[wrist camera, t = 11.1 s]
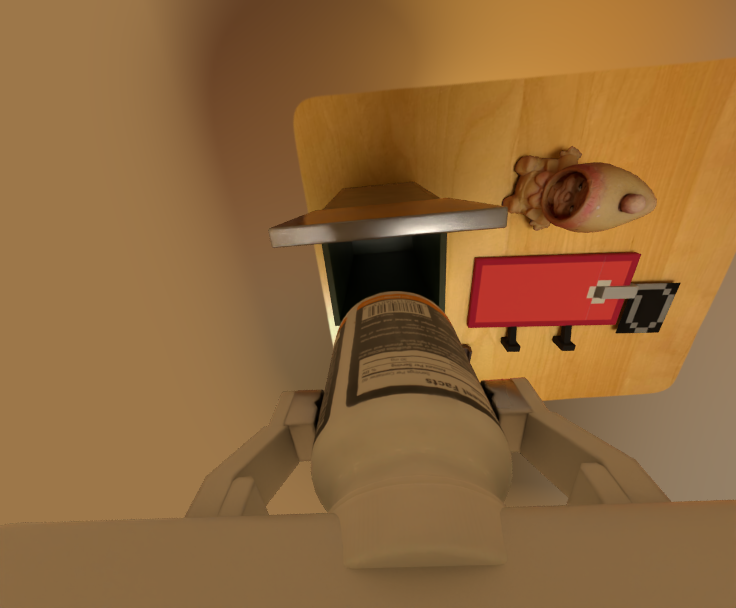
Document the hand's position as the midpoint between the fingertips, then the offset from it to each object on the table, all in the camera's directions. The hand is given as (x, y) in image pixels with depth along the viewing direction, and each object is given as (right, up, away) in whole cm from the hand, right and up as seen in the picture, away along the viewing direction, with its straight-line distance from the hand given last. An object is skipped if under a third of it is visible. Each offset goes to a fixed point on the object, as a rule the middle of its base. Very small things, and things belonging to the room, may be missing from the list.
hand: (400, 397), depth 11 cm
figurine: (+22, +19, +28) cm, 40 cm away
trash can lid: (0, +8, +5) cm, 10 cm away
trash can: (+1, +15, +30) cm, 33 cm away
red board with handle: (+30, +4, +35) cm, 46 cm away
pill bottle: (0, +2, +4) cm, 4 cm away
